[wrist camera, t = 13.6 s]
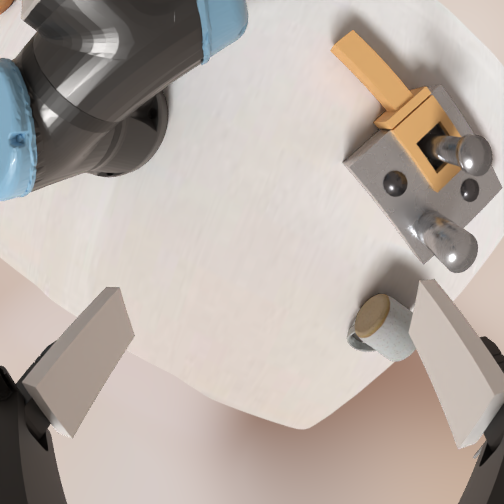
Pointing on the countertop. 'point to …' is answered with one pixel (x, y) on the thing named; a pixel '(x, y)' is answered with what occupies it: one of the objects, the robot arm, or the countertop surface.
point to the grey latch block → (425, 193)
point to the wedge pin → (459, 151)
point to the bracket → (399, 105)
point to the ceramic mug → (383, 328)
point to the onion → (5, 5)
